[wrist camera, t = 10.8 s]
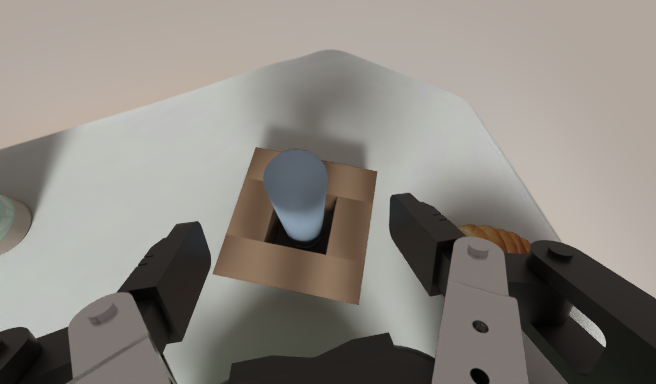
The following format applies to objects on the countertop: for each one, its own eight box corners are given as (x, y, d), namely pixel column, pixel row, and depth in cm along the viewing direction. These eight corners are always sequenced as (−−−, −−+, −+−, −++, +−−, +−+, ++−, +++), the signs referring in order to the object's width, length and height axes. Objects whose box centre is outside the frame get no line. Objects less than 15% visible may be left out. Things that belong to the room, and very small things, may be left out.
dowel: (284, 243, 27) (254, 201, 14) (292, 211, 28) (273, 144, 15) (317, 250, 27) (320, 214, 14) (324, 218, 28) (333, 156, 15)
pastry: (516, 227, 29) (544, 219, 25) (534, 291, 27) (568, 292, 23) (435, 229, 28) (453, 221, 25) (447, 294, 26) (468, 296, 23)
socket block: (231, 276, 25) (212, 274, 21) (265, 169, 30) (255, 147, 25) (350, 301, 25) (358, 304, 21) (367, 190, 29) (377, 171, 25)
